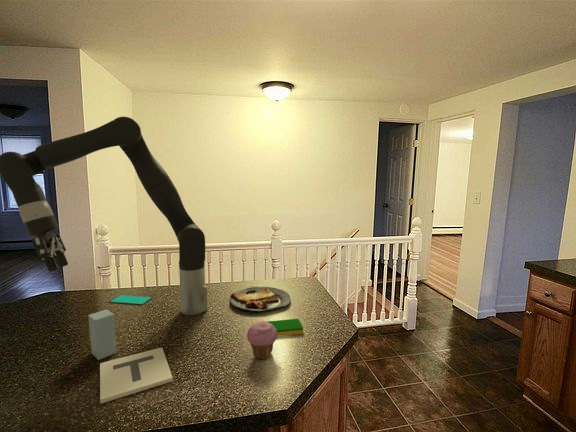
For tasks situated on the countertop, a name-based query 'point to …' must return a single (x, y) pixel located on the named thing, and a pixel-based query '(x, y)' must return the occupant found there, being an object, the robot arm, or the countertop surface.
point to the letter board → (133, 374)
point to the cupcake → (262, 338)
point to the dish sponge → (287, 327)
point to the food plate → (259, 298)
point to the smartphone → (131, 300)
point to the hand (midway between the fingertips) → (59, 268)
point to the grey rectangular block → (102, 334)
